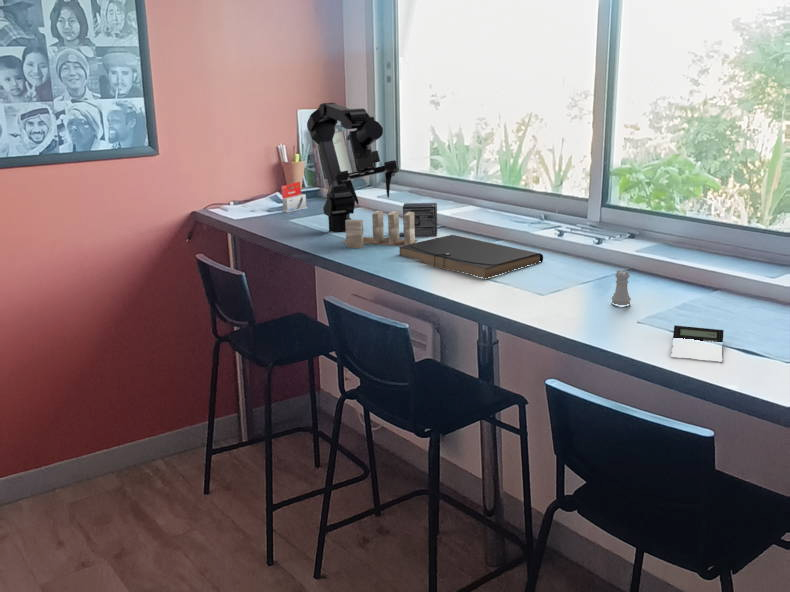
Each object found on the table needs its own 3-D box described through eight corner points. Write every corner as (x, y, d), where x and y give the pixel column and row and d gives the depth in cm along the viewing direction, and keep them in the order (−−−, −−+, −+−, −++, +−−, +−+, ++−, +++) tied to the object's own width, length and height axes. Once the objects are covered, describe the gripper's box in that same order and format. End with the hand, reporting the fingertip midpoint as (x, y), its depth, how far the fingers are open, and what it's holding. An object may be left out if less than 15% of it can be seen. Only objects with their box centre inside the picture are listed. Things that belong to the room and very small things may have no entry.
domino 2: (373, 242, 248) (372, 213, 245) (378, 239, 252) (377, 210, 249) (378, 243, 247) (377, 214, 244) (383, 239, 251) (383, 210, 249)
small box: (438, 234, 260) (437, 202, 256) (437, 239, 253) (436, 206, 250) (405, 234, 261) (404, 202, 258) (403, 239, 254) (402, 206, 251)
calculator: (670, 358, 157) (671, 344, 156) (673, 338, 167) (674, 324, 166) (722, 364, 154) (723, 349, 153) (722, 343, 164) (723, 329, 163)
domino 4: (404, 244, 245) (403, 215, 242) (409, 240, 249) (408, 211, 246) (410, 244, 244) (409, 215, 241) (414, 241, 248) (414, 212, 246)
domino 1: (361, 250, 242) (360, 221, 239) (346, 250, 243) (345, 220, 241) (363, 249, 244) (362, 219, 241) (348, 248, 245) (347, 219, 242)
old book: (398, 245, 232) (456, 232, 247) (398, 259, 233) (456, 245, 248) (484, 266, 208) (543, 250, 224) (484, 282, 210) (543, 265, 225)
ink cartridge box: (306, 207, 308) (305, 181, 305) (287, 213, 299) (285, 186, 296) (301, 207, 309) (300, 181, 306) (282, 212, 300) (280, 186, 297)
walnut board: (342, 245, 249) (341, 242, 249) (351, 239, 257) (351, 236, 256) (410, 248, 243) (410, 246, 242) (418, 242, 250) (418, 239, 250)
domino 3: (388, 243, 246) (387, 214, 243) (393, 239, 250) (392, 211, 248) (394, 244, 246) (393, 214, 243) (399, 240, 250) (398, 211, 247)
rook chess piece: (627, 308, 185) (629, 275, 182) (608, 306, 187) (609, 272, 185) (633, 303, 188) (635, 270, 186) (614, 300, 191) (616, 267, 188)
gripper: (329, 150, 233) (341, 202, 232) (392, 136, 234) (404, 189, 233) (331, 159, 244) (342, 209, 243) (392, 145, 245) (403, 196, 244)
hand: (373, 200), depth 241 cm, fingers open, 9 cm apart
